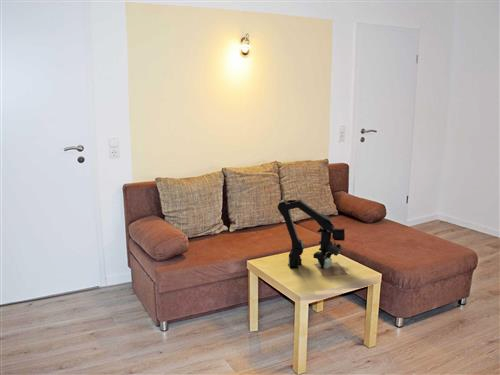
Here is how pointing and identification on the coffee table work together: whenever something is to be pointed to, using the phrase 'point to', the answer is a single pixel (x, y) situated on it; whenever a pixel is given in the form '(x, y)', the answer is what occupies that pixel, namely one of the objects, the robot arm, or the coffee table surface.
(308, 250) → the coffee table surface
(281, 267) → the coffee table surface
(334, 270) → the board
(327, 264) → the pale green knobbed block
